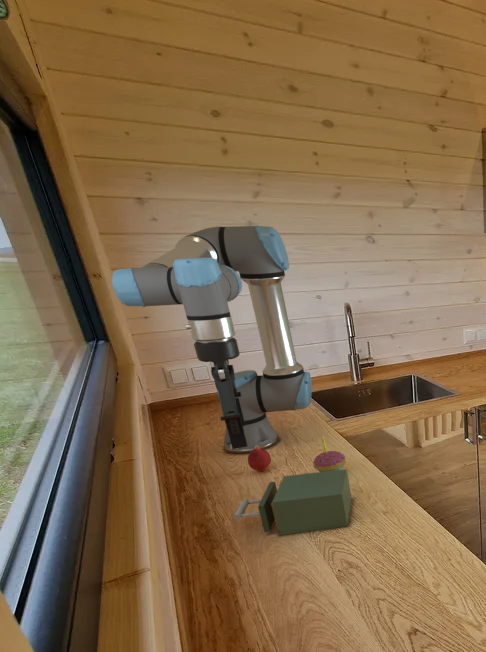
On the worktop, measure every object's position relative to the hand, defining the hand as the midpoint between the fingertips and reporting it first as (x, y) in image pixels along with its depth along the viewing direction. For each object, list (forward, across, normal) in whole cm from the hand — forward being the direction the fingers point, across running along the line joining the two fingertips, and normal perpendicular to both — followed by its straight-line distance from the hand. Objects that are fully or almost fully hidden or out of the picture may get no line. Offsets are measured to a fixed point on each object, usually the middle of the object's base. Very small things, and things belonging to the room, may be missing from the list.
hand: (239, 436), depth 106 cm
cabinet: (+22, +4, +12) cm, 25 cm away
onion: (+22, -29, +2) cm, 37 cm away
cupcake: (+22, -16, +19) cm, 33 cm away
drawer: (+21, +2, +5) cm, 22 cm away
